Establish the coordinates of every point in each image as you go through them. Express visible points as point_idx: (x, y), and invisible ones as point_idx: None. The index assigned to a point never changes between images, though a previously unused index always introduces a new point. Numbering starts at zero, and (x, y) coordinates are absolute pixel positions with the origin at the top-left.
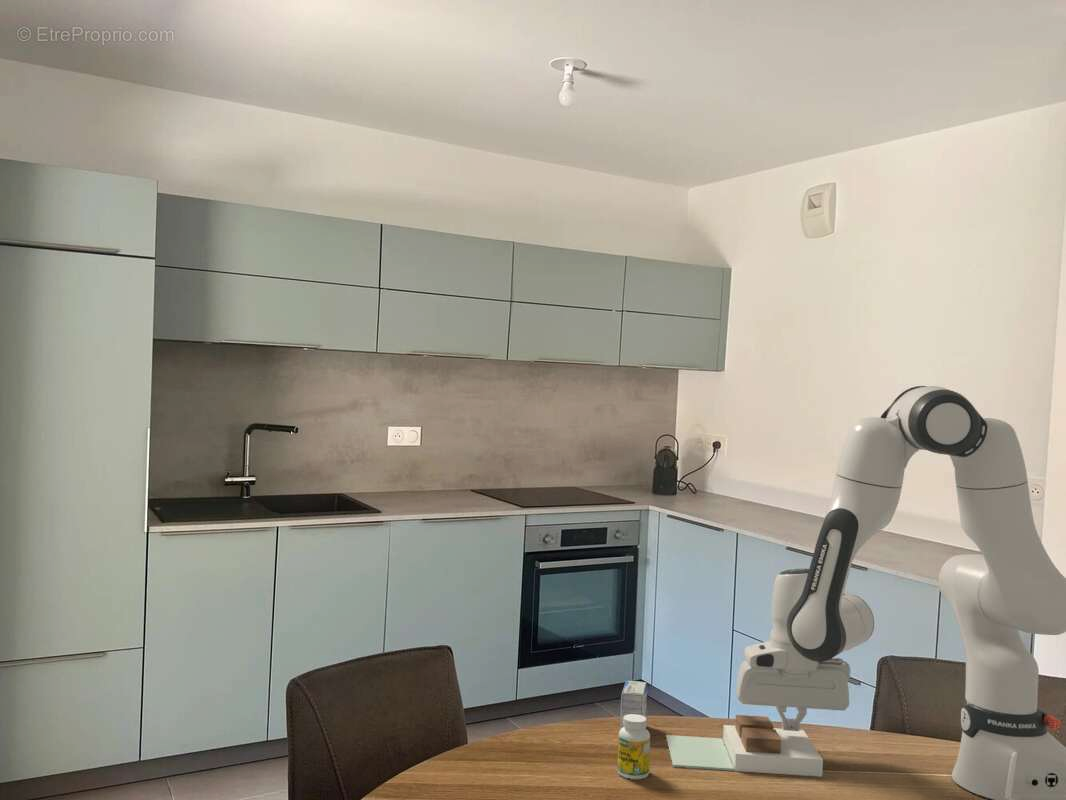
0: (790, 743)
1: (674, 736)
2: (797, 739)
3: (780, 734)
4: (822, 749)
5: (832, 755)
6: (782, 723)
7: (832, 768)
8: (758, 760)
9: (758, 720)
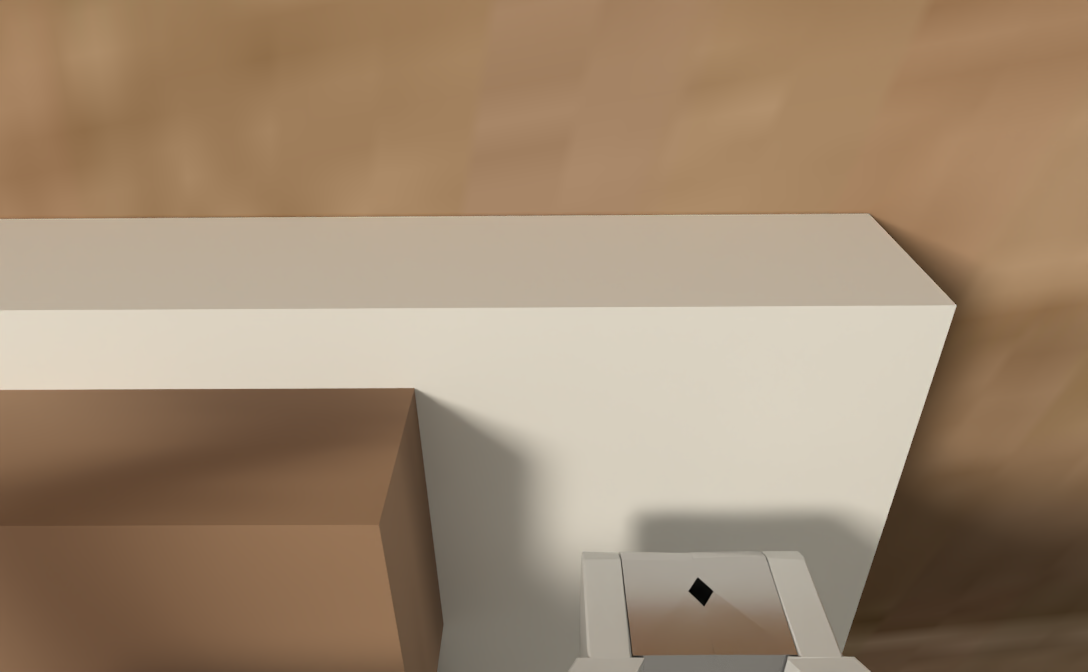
0: None
1: None
2: None
3: (562, 489)
4: (1053, 272)
5: (1063, 398)
6: (582, 627)
7: (895, 611)
8: None
9: (225, 661)
